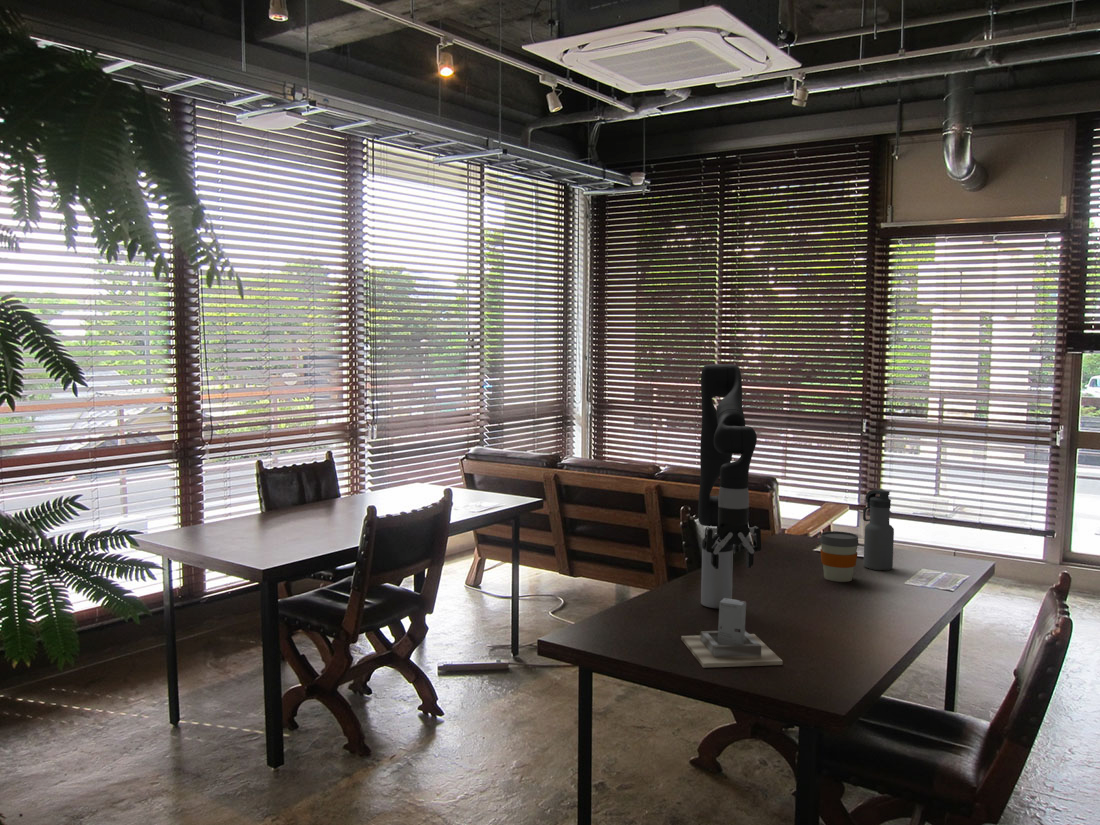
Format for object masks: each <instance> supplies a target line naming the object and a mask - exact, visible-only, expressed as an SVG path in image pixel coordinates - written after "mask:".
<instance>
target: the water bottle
mask: <svg viewBox="0 0 1100 825" xmlns="http://www.w3.org/2000/svg"><path fill="white" fill-rule="evenodd" d="M877 495H879V496H877ZM889 496H890V491H889V490H886V489H872V490H871V489H870V490H869V491H868V492H867V493H866V495H865V499H864V500H865V502H866V504H867V506H865V507H864V508H863V510H862V519H863V520H862V521H864V522H869V523H867V524H866V525H865V526H864V538H863V539H864V540H863V542H864V543H863V566H864V567H865V568H866V569H868V568H869V570H872V569H874V571H880V570H886V571H889V570H892V569H893V564H894V561H893V560H894V540H895V539H894V538H895V528H894V527H893V526H892V525H891V524H890V517H891V516H890V512H891V506H892V505H891V502H892V499H891V498H889ZM867 510H869V519H867V518H866V516H867V515H866V514H867V513H866V512H867Z"/></svg>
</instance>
